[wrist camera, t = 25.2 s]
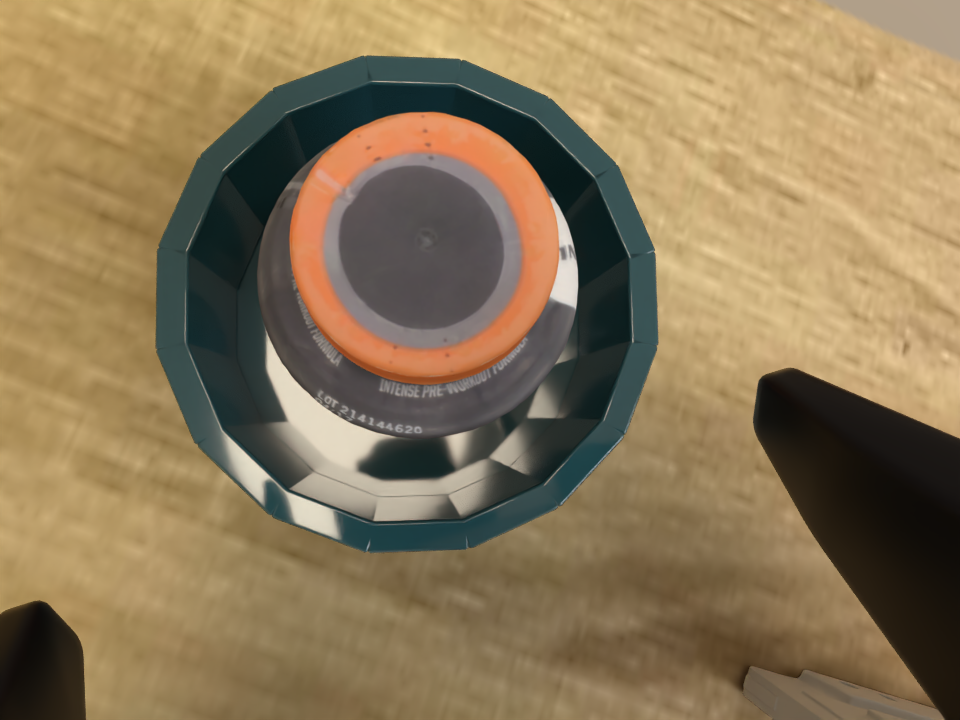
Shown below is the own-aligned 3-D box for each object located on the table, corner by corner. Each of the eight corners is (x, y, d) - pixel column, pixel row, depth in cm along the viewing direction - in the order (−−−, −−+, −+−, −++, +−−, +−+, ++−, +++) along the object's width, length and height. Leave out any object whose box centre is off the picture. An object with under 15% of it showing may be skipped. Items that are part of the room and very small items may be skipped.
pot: (669, 325, 23) (753, 298, 18) (414, 599, 22) (420, 661, 16) (408, 66, 23) (412, -42, 18) (131, 327, 22) (41, 297, 16)
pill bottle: (525, 246, 22) (652, 78, 11) (501, 442, 22) (609, 473, 11) (325, 216, 22) (249, 7, 11) (296, 417, 21) (184, 421, 10)
